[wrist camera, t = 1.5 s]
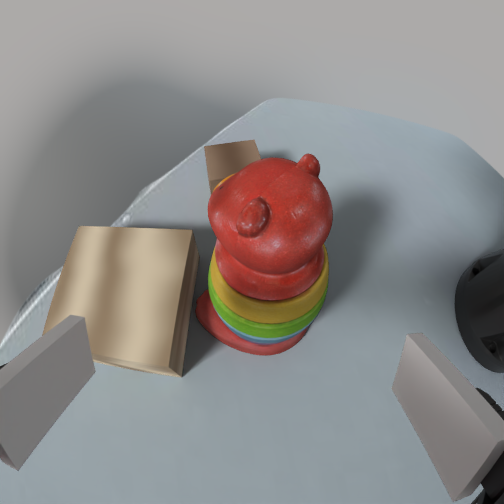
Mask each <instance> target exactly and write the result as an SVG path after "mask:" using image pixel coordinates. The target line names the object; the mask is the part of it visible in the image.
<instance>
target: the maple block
mask: <svg viewBox="0 0 504 504" xmlns="http://www.w3.org/2000/svg"><path fill="white" fill-rule="evenodd" d="M199 258H200V257H199V253H198V250H197V246H196V242H195V238H194V234H193V230H181V229H156V228H128V227H95V226H79V228H78V230H77V233H76V235H75V238H74V240H73V243H72V245H71V248H70V251H69V253H68V256H67V258H66V261H65V264H64V266H63V269H62V272H61V275H60V278H59V281H58V284H57V287H56V290H55V293H54V296H53V299H52V302H51V306H50V309H49V313H48V316H47V320H46V323H45V327H44V331H43V335H44V334H46V333H47V332H48V331H50V330H51V329H52V328H53V327H55V326H56V325H57V324H59V323H60V322H61V321H63V320H64V319H65V318H67V317H68V316H69V315H75V316H81V317H85V322H86V328H87V334H88V339H89V344H90V349H91V354H92V359H93V362H97V363H102V364H106V365H111V366H116V367H121V368H126V369H132V370H137V371H143V372H149V373H155V374H161V375H168V376H175V377H182V372H183V364H184V356H185V349H186V341H187V334H188V327H189V320H190V314H191V307H192V300H193V294H194V288H195V282H196V276H197V270H198V264H199ZM43 335H42V336H43Z"/></svg>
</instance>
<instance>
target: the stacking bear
mask: <svg viewBox="0 0 504 504" xmlns="http://www.w3.org/2000/svg"><path fill="white" fill-rule="evenodd" d="M319 173H320V164H319V161H318V160H317V159H316V157H315V156H313V155H312V154H305V155H304V156H303V157H302V158H301V159H300V161H299V162H298V163H296V162H293V161H291V160H288V159H284V158H265V159H260V160H257V161H255V162H252V163H250V164H249V165H247V166H246V167H244V168H243V169H242V170H240V171H239V172H237V173H235V174H232V175H230V176H228V177H226V178H225V179H223V180H222V181H221V182H220V183H219V184H218V185H217V186H216V187H215V189H214V190H213V193H212V195H211V197H210V199H209V203H208V217H209V221H210V224H211V227H212V229H213V231H214V233H215V235H216V237H217V241H216V245H215V247H214V251H213V255H212V259H211V262H210V266H209V274H208V288H209V289H208V290H206V291H204V293H203V294H202V295H201V296H200V297H199V298H198V299H197V301H196V304H197V307H196V310H195V312H196V316H197V318H198V320H199V322H200V323H201V324H202V325H203V326H204V328H205V329H206V330H207V331H208V332H209V333H211V334H212V335H213V336H214V337H215V338H217V339H218V340H220V341H221V342H223V343H224V344H226V345H228V346H230V347H232V348H234V349H237V350H239V351H242V352H246V353H250V354H256V355H274V354H279V353H281V352H284V351H286V350H288V349H290V348H291V347H293V346H294V345H295V344H297V343H298V342H299V341H300V339H301V338H302V337H303V336H304V334H305V332H306V330H307V328H308V326H309V325H310V324H311V323H312V322H313V320H314V319H315V318H316V316H317V315H318V313H319V311H320V309H321V307H322V305H323V303H324V300H325V297H326V293H327V288H328V275H329V262H328V254H327V250H326V247H325V245H324V242H325V241H326V239H327V237H328V235H329V232H330V229H331V226H332V220H333V210H332V204H331V200H330V197H329V195H328V192H327V190H326V188H325V186H324V185H323V183H322V182H321V181H320V179H319V178H318V176H319Z"/></svg>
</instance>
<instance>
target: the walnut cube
mask: <svg viewBox="0 0 504 504" xmlns="http://www.w3.org/2000/svg"><path fill="white" fill-rule="evenodd" d="M204 148H205V156H206V164H207V171H208V178H209V185H210V191H211V195H212V193H213V190H214V189H215V187H216V186H217V185H218V184H219V183H220V182H221V181H222V180H223V179H225V178H226V177H228V176H230V175H232V174H235V173H237V172H239V171H240V170H242V169H243V168H244V167H246V166H247V165H249V164H250V163H252V162H255V161H257V160H260V159H261V157H260V154H259V151H258V149H257V146H256V143H255V140H248V141H240V142H232V143H225V144H218V145H211V146H204Z"/></svg>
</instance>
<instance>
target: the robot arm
mask: <svg viewBox="0 0 504 504" xmlns="http://www.w3.org/2000/svg"><path fill="white" fill-rule="evenodd" d="M455 311H456V319H457V323H458V327H459V330H460V333H461V336H462V338H463V341H464V343H465V345H466V347H467V348H468V350H469V351H470V353H471V354H472V356H473V357H474V358H475V359H476V360H477V361H478V362H479V363H480V364H481V365H482V366H483V367H485V368H486V369H488V370H490V371H493V372H497V373H504V249H501V250H499V251H496V252H494V253H492V254H489V255H487V256H484V257H482V258H480V259H478V260H477V261H476V262H474V263H473V264H472V265H471V266H470V267H469V268H468V269H467V270H466V271H465V272H464V273H463V275H462V276H461V278H460V280H459V282H458V285H457V289H456V295H455ZM94 373H95V367H94V363H93V359H92V354H91V349H90V344H89V339H88V334H87V328H86V322H85V317H81V316H75V315H69V316H68V317H67V318H65V319H64V320H63V321H61V322H60V323H59V324H57V325H56V326H55V327H53V328H52V329H51V330H50V331H48V332H47V333H46V334H44V335H43V336H42V337H40V338H39V339H38V340H37V341H35V342H34V343H33V344H31V345H30V346H29V347H28V348H26V349H25V350H24V351H23V352H21V353H20V354H19V355H18V356H16V357H15V358H14V359H13V360H11V361H10V362H9V363H7V364H4V365H2V366H0V458H1V460H2V461H3V462H4V463H5V464H7V465H9V466H10V467H12V468H14V469H16V470H17V471H19V469H20V468H21V467H22V465H23V464H24V463H25V461H26V460H27V459H28V457H29V456H30V454H31V453H32V452H33V450H34V449H35V448H36V447H37V445H38V444H39V443H40V441H41V440H42V439H43V437H44V436H45V435H46V433H47V432H48V431H49V429H50V428H51V427H52V426H53V424H54V423H55V422H56V420H57V419H58V418H59V417H60V415H61V414H62V413H63V412H64V410H65V409H66V408H67V407H68V405H69V404H70V403H71V402H72V400H73V399H74V398H75V397H76V395H77V394H78V393H79V392H80V390H81V389H82V388H83V387H84V385H85V384H86V383H87V382H88V381H89V379H90V378H91V377H92V376H93V374H94ZM392 391H393V392H394V394H395V396H396V397H397V399H398V401H399V403H400V404H401V406H402V408H403V410H404V411H405V413H406V415H407V417H408V418H409V420H410V422H411V424H412V426H413V427H414V429H415V431H416V433H417V435H418V436H419V438H420V440H421V442H422V444H423V445H424V447H425V449H426V451H427V453H428V455H429V457H430V458H431V460H432V462H433V464H434V466H435V468H436V470H437V472H438V474H439V476H440V478H441V480H442V481H443V483H444V485H445V487H446V489H447V491H448V493H449V495H450V497H451V499H452V501H453V502H454V501H457V500H459V499H462V498H464V497H467V496H469V495H471V494H472V493H473V492H474V491H475V489H476V488H477V487H478V486H479V484H480V483H481V484H482V486H483V488H484V489H483V491H482V492H481V493H480V494H479V495H478V496H477V497H476V499H475V500H474V501H473V502H472V503H471V504H476V503H477V504H504V411H502V409H501V407H500V406H499V405H498V404H496V402H495V401H494V400H493V399H492V398H491V396H490V395H489V394H487V393H486V392H484V391H482V390H481V389H479V388H475V387H474V386H473V385H472V384H471V383H470V382H469V381H468V380H467V379H466V378H465V377H464V376H463V375H462V373H461V372H460V371H459V370H458V369H457V368H456V367H455V366H454V365H453V364H452V363H451V362H450V361H449V360H448V359H447V358H446V357H445V356H444V355H443V353H442V352H441V351H440V350H439V349H438V348H437V347H436V346H435V345H434V344H433V343H432V342H431V341H430V340H429V339H428V338H427V337H426V336H425V335H424V334H423V333H415V334H407V336H406V340H405V344H404V348H403V352H402V355H401V359H400V362H399V366H398V369H397V373H396V376H395V379H394V382H393V386H392Z"/></svg>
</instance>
